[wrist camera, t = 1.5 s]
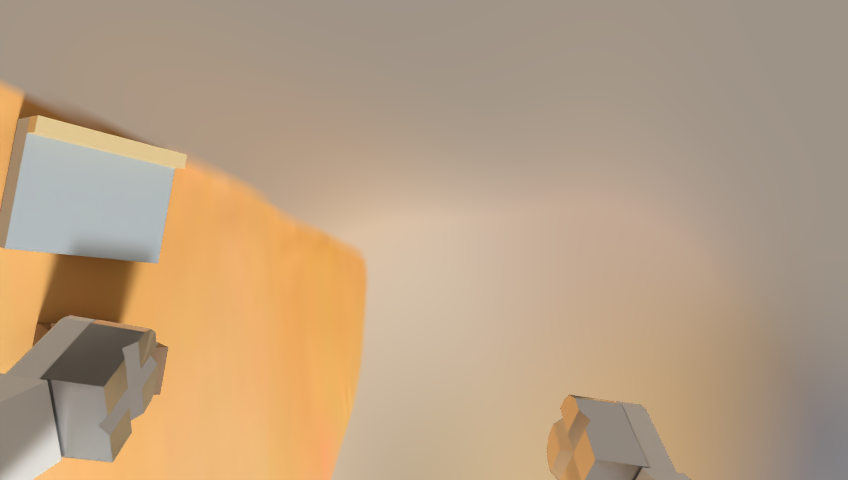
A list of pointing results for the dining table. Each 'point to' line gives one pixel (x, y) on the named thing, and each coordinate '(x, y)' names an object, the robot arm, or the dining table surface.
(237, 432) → the dining table surface
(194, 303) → the dining table surface
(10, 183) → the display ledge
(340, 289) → the dining table surface
